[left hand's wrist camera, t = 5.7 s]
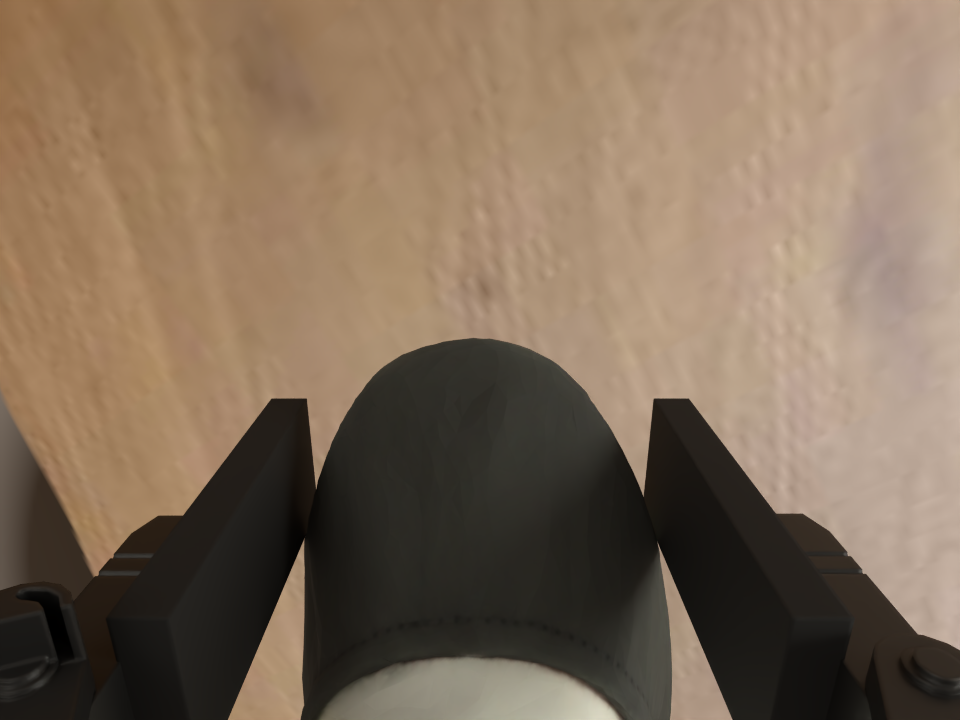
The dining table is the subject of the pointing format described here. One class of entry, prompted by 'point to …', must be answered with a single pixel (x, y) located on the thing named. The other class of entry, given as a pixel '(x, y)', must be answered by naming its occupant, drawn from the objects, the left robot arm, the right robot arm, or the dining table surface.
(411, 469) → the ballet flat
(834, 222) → the dining table surface
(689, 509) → the left robot arm
